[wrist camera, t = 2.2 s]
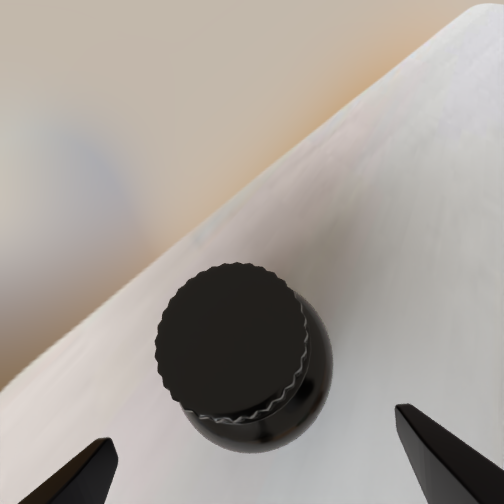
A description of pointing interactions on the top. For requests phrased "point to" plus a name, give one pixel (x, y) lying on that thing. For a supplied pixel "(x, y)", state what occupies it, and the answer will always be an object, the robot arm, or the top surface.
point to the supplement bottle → (244, 358)
